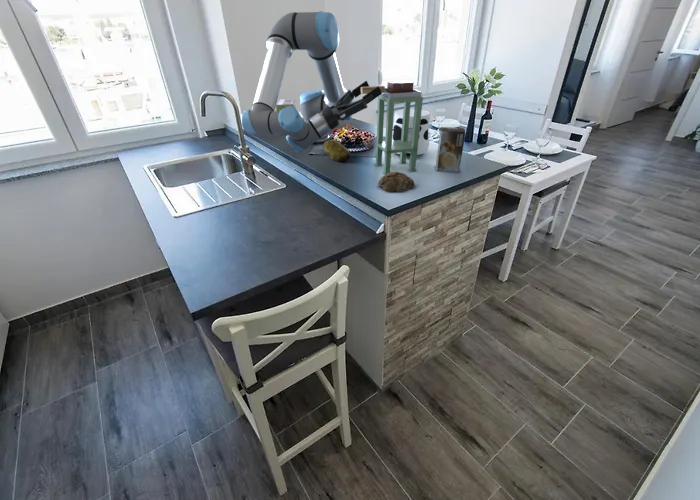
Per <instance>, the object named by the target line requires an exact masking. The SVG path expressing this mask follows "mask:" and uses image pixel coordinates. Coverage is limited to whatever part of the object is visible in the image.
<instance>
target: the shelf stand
mask: <svg viewBox="0 0 700 500" xmlns="http://www.w3.org/2000/svg"><path fill="white" fill-rule="evenodd" d="M423 101H424V97H423V96H421V97H412V98H396V99H390V98H388V97H385V96H383V95H379V96H378V97H377V115H376V116H377V118H376V144H375V145H376V146H375V148H376V149H375V166H377V167H381V166H382V165H383V174H384V175H385V174H388V173H389V172H391V166H392V165H391V164H392V154H395V153H400V155H399V163H400V164H406V163H407V157H406V152H410V151H411V153H410V157H409V163H408V171H409V172H413V173H414V172H416V167H417V160H418V159H417V157H418V156H417V150H418V140H419V131H420V121H421V111H422V110H423ZM385 102H386V119H385ZM401 103H403V109H404V110H403V124H402V137H401V140H395V141H392V135H393V130H394V115H395V104H401ZM412 103H414V108H413V109H414V120H413V131H412V142H411V143H410V142H408V129H409V117H410V109H411V106H412V105H411V104H412ZM384 120H385V123H384ZM384 124H385V140H384ZM383 152H384V158H383ZM383 159H384V160H383ZM382 163H383V164H382Z"/></svg>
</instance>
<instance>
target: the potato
mask: <svg viewBox="0 0 700 500" xmlns="http://www.w3.org/2000/svg"><path fill="white" fill-rule="evenodd" d="M322 150H323V151H324V153H325V155H327V156H328V157H329V158H331V160H333V161H336V162H347V161H349V160H350V159H351V152H350V151H349V149H348V148H346V147H345V146H344V145H343V144H342V143H340V142H338V141H337V140H336V139H329V140H327V141H326V142H323V143H322Z"/></svg>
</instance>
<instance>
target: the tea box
mask: <svg viewBox="0 0 700 500" xmlns="http://www.w3.org/2000/svg"><path fill="white" fill-rule="evenodd" d="M288 106H291V107H294V108H296V109H297V100H296V98H285V99H283V98H281V99H277V103H276V107H275V111H278V112H280V111H281V110H282V109H283V108H286V107H288ZM297 110H298V109H297Z"/></svg>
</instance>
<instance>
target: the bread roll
mask: <svg viewBox="0 0 700 500" xmlns="http://www.w3.org/2000/svg"><path fill="white" fill-rule="evenodd" d="M377 184H378V187H380V188H382V189H383V190H384V191H385V192H388V193H395V192H397V193H400V192H405V191H408V190H411V189H414V187H415V186H416V183H415V181H414V180H413V178H412V177H410V176H409V175H407V174H406V173H403V172H399V171H390V172H389V173H388V174H384V175H383V176H381V177H380V179H379V180H378V182H377Z"/></svg>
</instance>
